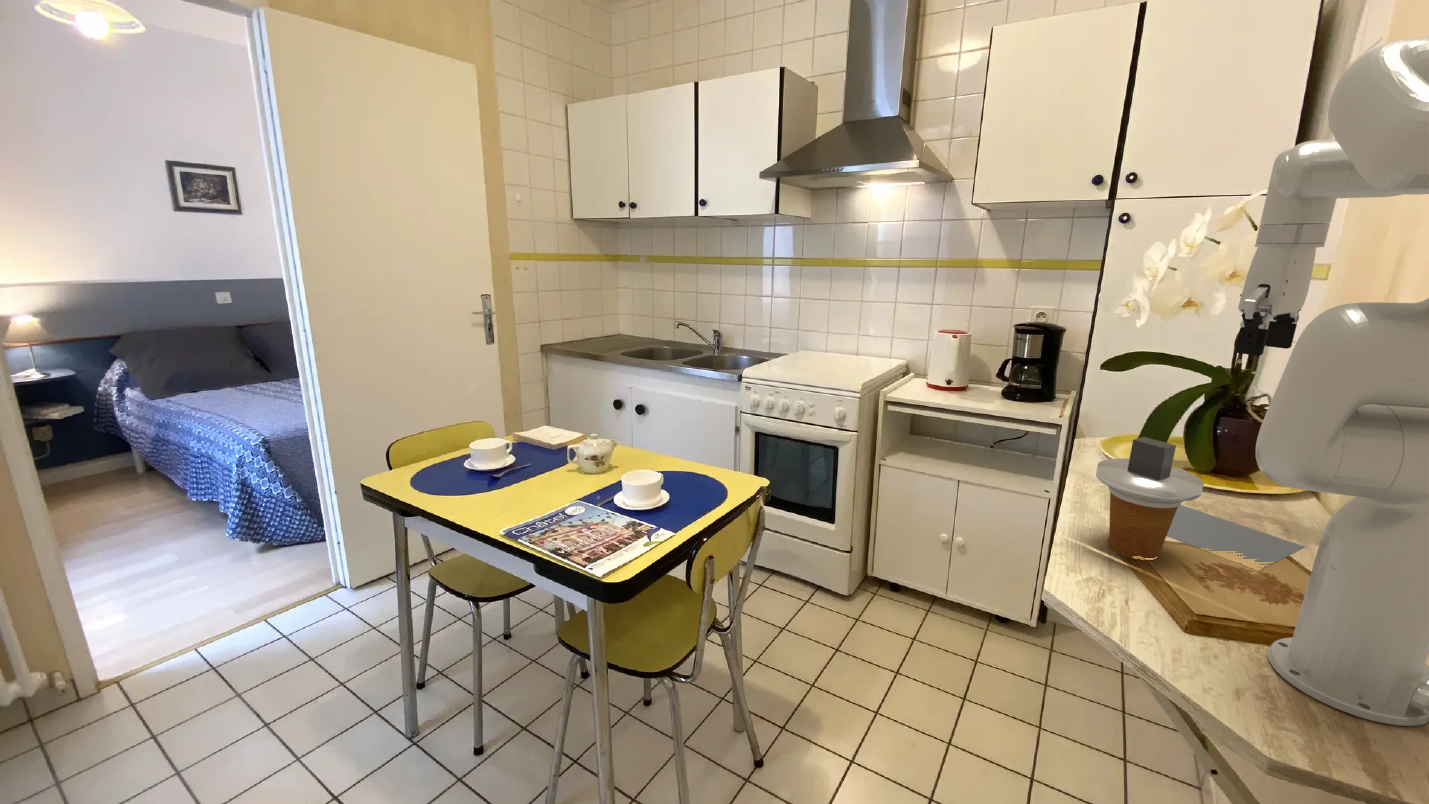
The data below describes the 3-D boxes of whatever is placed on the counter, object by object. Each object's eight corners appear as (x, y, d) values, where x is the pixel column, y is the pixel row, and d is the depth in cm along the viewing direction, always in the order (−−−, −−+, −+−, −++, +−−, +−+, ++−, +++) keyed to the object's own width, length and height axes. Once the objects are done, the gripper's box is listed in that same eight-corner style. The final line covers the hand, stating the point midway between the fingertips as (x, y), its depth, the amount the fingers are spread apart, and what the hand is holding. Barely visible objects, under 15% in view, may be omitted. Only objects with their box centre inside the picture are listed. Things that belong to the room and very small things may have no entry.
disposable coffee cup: (1099, 560, 91) (1112, 488, 87) (1094, 533, 99) (1106, 467, 95) (1176, 575, 86) (1192, 500, 83) (1164, 546, 94) (1178, 477, 91)
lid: (1219, 489, 86) (1229, 448, 85) (1171, 508, 81) (1180, 464, 79) (1126, 461, 98) (1132, 424, 96) (1077, 476, 92) (1084, 437, 90)
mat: (1304, 550, 93) (1305, 546, 92) (1257, 574, 86) (1258, 570, 86) (1163, 502, 110) (1164, 499, 110) (1115, 519, 103) (1116, 516, 103)
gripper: (1283, 235, 94) (1258, 341, 99) (1231, 238, 86) (1206, 352, 91) (1348, 235, 88) (1318, 348, 93) (1299, 238, 80) (1268, 361, 85)
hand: (1263, 350), depth 92 cm, fingers open, 9 cm apart
